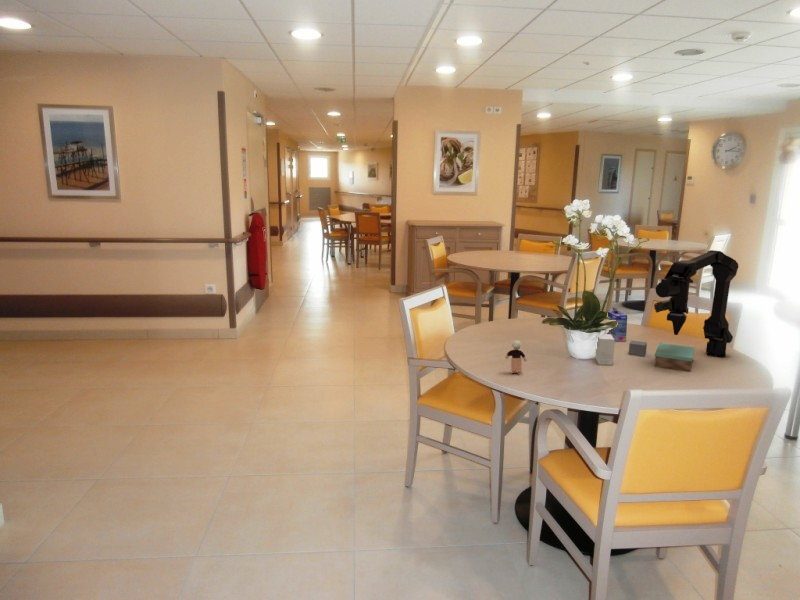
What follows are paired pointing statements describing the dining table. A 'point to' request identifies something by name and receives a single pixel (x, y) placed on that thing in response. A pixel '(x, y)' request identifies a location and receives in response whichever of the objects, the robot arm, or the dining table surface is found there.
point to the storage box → (673, 363)
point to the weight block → (637, 348)
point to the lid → (675, 351)
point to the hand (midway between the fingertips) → (675, 334)
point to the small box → (605, 350)
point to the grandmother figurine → (516, 357)
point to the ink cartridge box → (621, 328)
